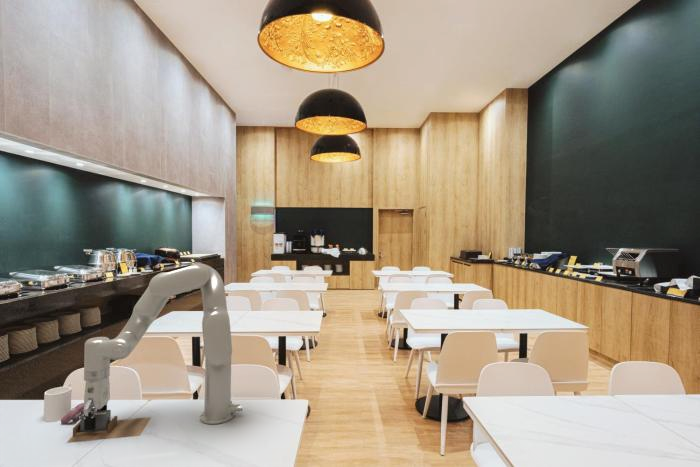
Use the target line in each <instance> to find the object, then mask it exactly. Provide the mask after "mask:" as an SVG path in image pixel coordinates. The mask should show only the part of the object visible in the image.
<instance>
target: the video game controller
mask: <svg viewBox="0 0 700 467" xmlns="http://www.w3.org/2000/svg"><path fill="white" fill-rule="evenodd" d="M90 408H94V407H90ZM83 410H84V402H81V403H79V404H77V405H76V406H75V407H73V408H71V410H70V411H69V412H68V413H67V414H66V415H65V416H64V417H63V418H62V419H61V420H60V423H61V424H62V425H65V424H67V423H69V422H71V421H72V422H77V421H78V420H79V419H80V418H81V415H83V414H84V412H83Z"/></svg>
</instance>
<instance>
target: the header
mask: <svg viewBox="0 0 700 467" xmlns="http://www.w3.org/2000/svg"><path fill="white" fill-rule="evenodd" d="M151 419H152V416H148V417H137V418H135V417H134V418H125V419H118V415H115V416H114V417H113V418H112V419H111V420H110V423H109V424H108V425H107V430H101V431H90V432H80V421H78V423H76V424H75V426H73V428H72V436H71V437H70V438H69V439H68V440H67V442H66V443H65V444H70V443H80V442H90V441H98V440H110V439H118V438H127V437H128V438H129V437H139V436H141V434H142V433H143V431H144V430H145V429H146V427H147V425H148V423H149V422H150V420H151Z"/></svg>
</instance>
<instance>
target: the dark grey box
mask: <svg viewBox="0 0 700 467" xmlns="http://www.w3.org/2000/svg"><path fill="white" fill-rule="evenodd" d="M90 412H91V413H93V411H90ZM111 413H112V411H111V409H107V410H101V411H97V410H96V413H95V417H96V428H95V429H94V430H84V414H83V415H81V417H80V418H79V419H80V421H79V422H80V432H90V431H101V430H107V425H108V424H109V423H110V421H111V420H112V419H111Z"/></svg>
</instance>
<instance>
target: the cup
mask: <svg viewBox="0 0 700 467" xmlns="http://www.w3.org/2000/svg"><path fill="white" fill-rule="evenodd" d="M72 391H73V390H72V384H71V383H70V384H69V383H68V384H66V385H65V386H59V387H53V388H50V389H48V390H46V391H45V392H44V396H43V398H44V399H43V422H46V423H55V422H59V421H60V422H61V419H62V418H63V417H64V416H65V415H66V414H67V413H68V412H69V411H70V410H72Z"/></svg>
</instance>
